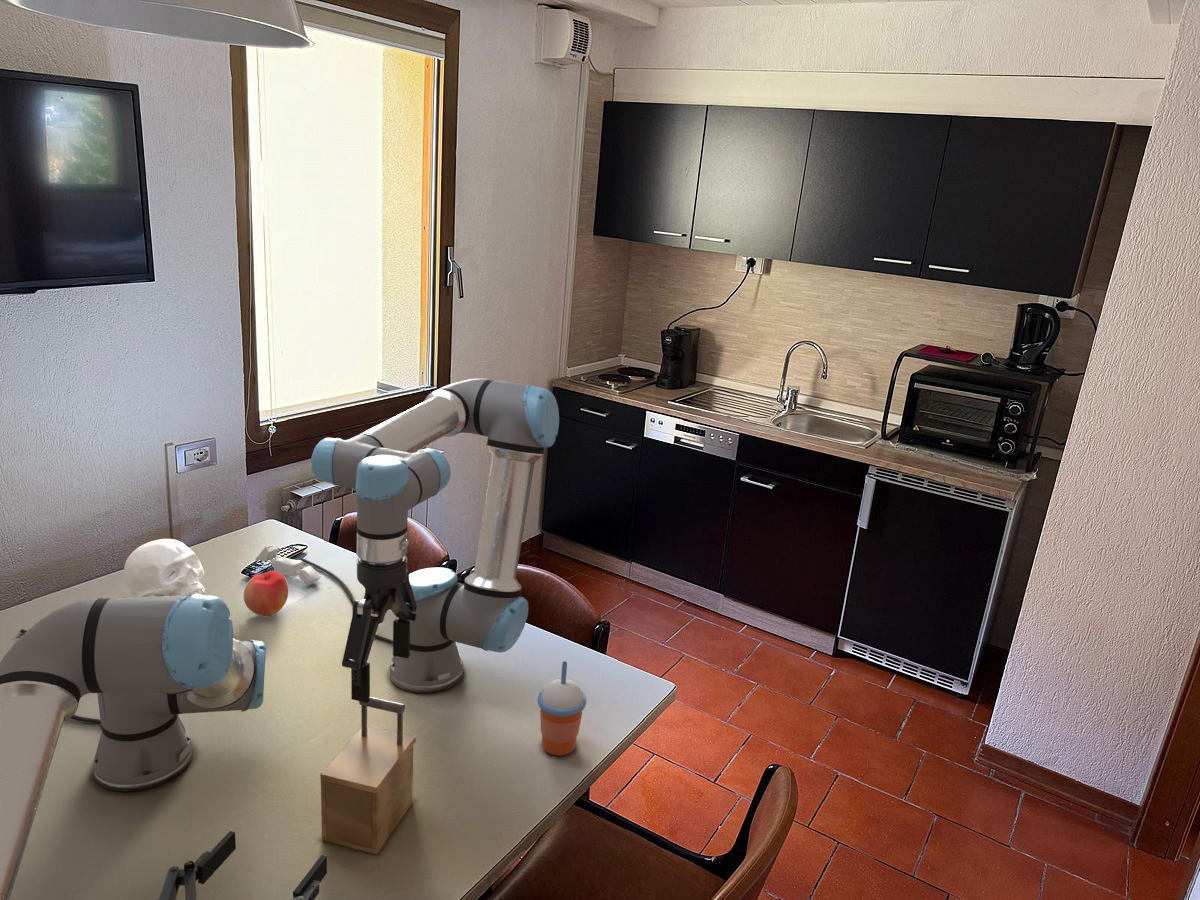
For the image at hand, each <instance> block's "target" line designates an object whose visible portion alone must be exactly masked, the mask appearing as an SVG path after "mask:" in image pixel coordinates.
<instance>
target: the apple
mask: <svg viewBox="0 0 1200 900" xmlns="http://www.w3.org/2000/svg"><path fill="white" fill-rule="evenodd" d="M288 597H289V584H288V581H287V579H286V577H285V575H282V574H281V573H278V572H275V571H268V570H267V571H266V572H264V573H259V574H255V575H254V576H253V577H251V578H250V579H249V580H248V582H247V583H246V585H245V587H244V590H243V601H244V604H245V607H247V609H248V610H249V611H250V612H252V613H253V614H255V615H257V616H261V617H265V618H269V617H273V616H275V615H276V614H278V613H279V612H280V611H281V610H282V609H283V607H284V606H285V605H286V603H287V600H288Z"/></svg>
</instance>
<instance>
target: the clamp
mask: <svg viewBox="0 0 1200 900" xmlns="http://www.w3.org/2000/svg"><path fill="white" fill-rule="evenodd" d="M280 549H281V547H279V546H278V545H277V544H272V545H266V546H264V547H263V549H262V550H261V551H260V552H259V554H258V555H257V556H256V557H255V559H254V562H255V563H256V561H259V560H262V561H268V560H271V562H270V563H269V564H271V565H272V566H273V568H274V571H275V572H278V573H281V574H282V575H283V576H288V577H292V578H296V577H298V578H299V579H300V580H301V582H303V584H304V585H305V587H309V586H312V585H314V584H316V583H318V582H319V580H320V579H321V578H322V577H321V575H320V574H319V573H318V572H317V570H315V569H314V568H313V566H312V565H310V564H307V563H305V562H303V561H301V560H299V559H292V558H289V557H285V556H278V553H279V551H280ZM273 558H274V559H273ZM272 559H273V560H272ZM305 566H306V567H305ZM270 571H271V570H270Z"/></svg>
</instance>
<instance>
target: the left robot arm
mask: <svg viewBox="0 0 1200 900" xmlns="http://www.w3.org/2000/svg"><path fill="white" fill-rule="evenodd" d="M19 633H21V634H22V635H21V636H20V637H19V638H18V639H17V640H16V641H15V642H14V644H12V646H11V647H10V648H9V650H8V651H7V652H6V654H5V655H4V656H3V657H2V659H1V660H0V900H10V899H11V897H12V892H13V890H14V886H15V883H16V880H17V876H18V873H19V871H20V867H21V863H22V860H23V857H24V853H25V851H26V846H27V843H28V839H29V838H30V837H29V836H30V833H31V830H32V828H33V824H34V820H35V818H36V817H35V816H36V813H37V810H38V807H39V803H40V801H41V798H42V793H43V791H44V788H45V785H46V781H47V778H48V774H49V771H50V767H51V763H52V761H53V758H54V754H55V751H56V747H57V744H58V741H59V737H60V734H61V731H62V728H63V724H64V722H66V721H67V720H70V719H72V720H75V721H79V722H82V723H83V722H84V723H90V724H92V723H93V724H99V725H100V727H101V734H100V737H99V741H98V744H97V748H96V753H95V755H94V758H93V763H92V764H93V765H92V769H93V778H94V780H95V782H96V783H97V784H98V785H100V786H101V787H103V788H104V789H107V790H110V791H113V792H123V793H125V792H138V791H143V790H148V789H152V788H155V787H159V786H160V785H163V784H165V783H167V782H169V781H171V780H172V779H174V778H176V777H177V776H178V775H180V774H182V772H184V771H185V770H186V769H187V767H188V766H189V765H190V763H191V761H192V758H193V756H194V755H193V753H194V752H193V743H192V740H191V737H190V735H189V733H188V732H187V731H186V729H185V726H184V724H183V722H182V720H181V719H180V716H179V715H183V714H200V713H202V714H203V713H217V712H234V711H241V712H247V711H249V710H256V709H259V708H261V706H262V705H263V703H264V691H265V674H266V673H265V672H266V655H267V653H266V652H267V645H266V643H265V642H264V641H262V640H254V639H248V640H244V641H243V640H242V641H241V640H238V639H236V638H234V623H233V619H232V618H231V611H230V608H229V607H228V605H227V603H226V602H225V601H224V599H222V598H221V597H219V596H215V595H207V594H206V595H202V594H190V595H182V596H156V597H135V596H134V597H133V596H130V597H110V598H107V597H106V598H102V597H94V598H93V597H92V598H86V599H80V600H76V601H74V602H71V603H67V604H66V605H63V606H61V607H59V608H56V610H53V611H52V612H50V613H48V614H47V615H46V616H44V617H43V618H41V619H40V620H38V621H37V622H36V623H34V624H33V625H32V626H31V627H30V628H29V629H28V630H27V629H23V628H21V629H20V630H19ZM89 694H96V695H97V702H98V703H97V704H98V710H99V718H91V717H84V716H79V715H77V714H76V712H77V710H78V708H79V704H80V700H81V699H82V697H84V696H85V695H89ZM236 849H237V843H236V832H235V831H233V830H229V831H228V832H227V833H226V835H225V836H223V838H222V839H221V840H220V841H218V842H217V844H215V846H214V847H213V848H212V849H211V850H210V851H209V850H206V851H205V852H203V853H202V854H201V855H200V856H199V857H198V858H197V859H196V860H195V861H193V860H188V861H186V862H185V863H184V864H183V868H181V869H180V867H179V866H177V865H174V866H171V867H169V869H168V871H167V873H166V876H165V879H164V883H163V886H162V888H161V891H160V895H159V897H158V900H176V899H177V896H178V893H179V889H180V887H181V886H184V895H185V896H184V897H185V898H184V899H185V900H198V896H197V883H198V884H201V885H204V884H205V883H206V882H207V881H208V880H209V879H211V877H212V876H213V874H214V873H215V872H216V871H217V870H218V869H219V868H220V867H221V866H222V865H223V864H224V862H226V860H227V859H228V858H229V857H230V856H231V855H232V854H233V853H234V852H235V851H236ZM327 874H328V856H327V855H324V854H321V855H320V856H319V857H318V859H317V860H316V861H315V863H314V864H313V865H312V867H311V868H310V869H309V871H308V872H307V873H306V874H305V875H304V877H303V879H301V881H300V882H299V884H298V885H297V886H296V887H295V889H294V890H293V891H292V898H290V899H289V900H315V899H316V898H317V897H318V896H319V894H320V891H321V889H320V884H321V882H322V881H323V880H324V878H325V877H326V876H327Z"/></svg>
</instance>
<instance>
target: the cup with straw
mask: <svg viewBox="0 0 1200 900" xmlns="http://www.w3.org/2000/svg"><path fill="white" fill-rule="evenodd" d="M567 669H568V662H567V661H566V660H565V661H562V662H561V677H560V678H557V679H554V680H552V681H549V683H547V684H546V685H545V687H543V688H542V689H541V690H540V692H539V693H538V695H537V705H538V707H539V708H540V710H539V715H540V717H539V718H540V733H541V739H542V740H541V741H542V743H541V744H542V748H543V750H544V751H546V752H547V753H548V754H550V755H553V756H565V755H568V754H571V753H572V752H573V751H574V750H575V747H576V742H577V737H578V735H579V731H580V727H581V722H582V717H583V711H584V710H585V708H586V705H587V697H586V695H585V693H584V692H583V691H582V689H581V687H580V686H579V685H578V684H577V683H576V682H574V681H573V680H571V679H567Z"/></svg>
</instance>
